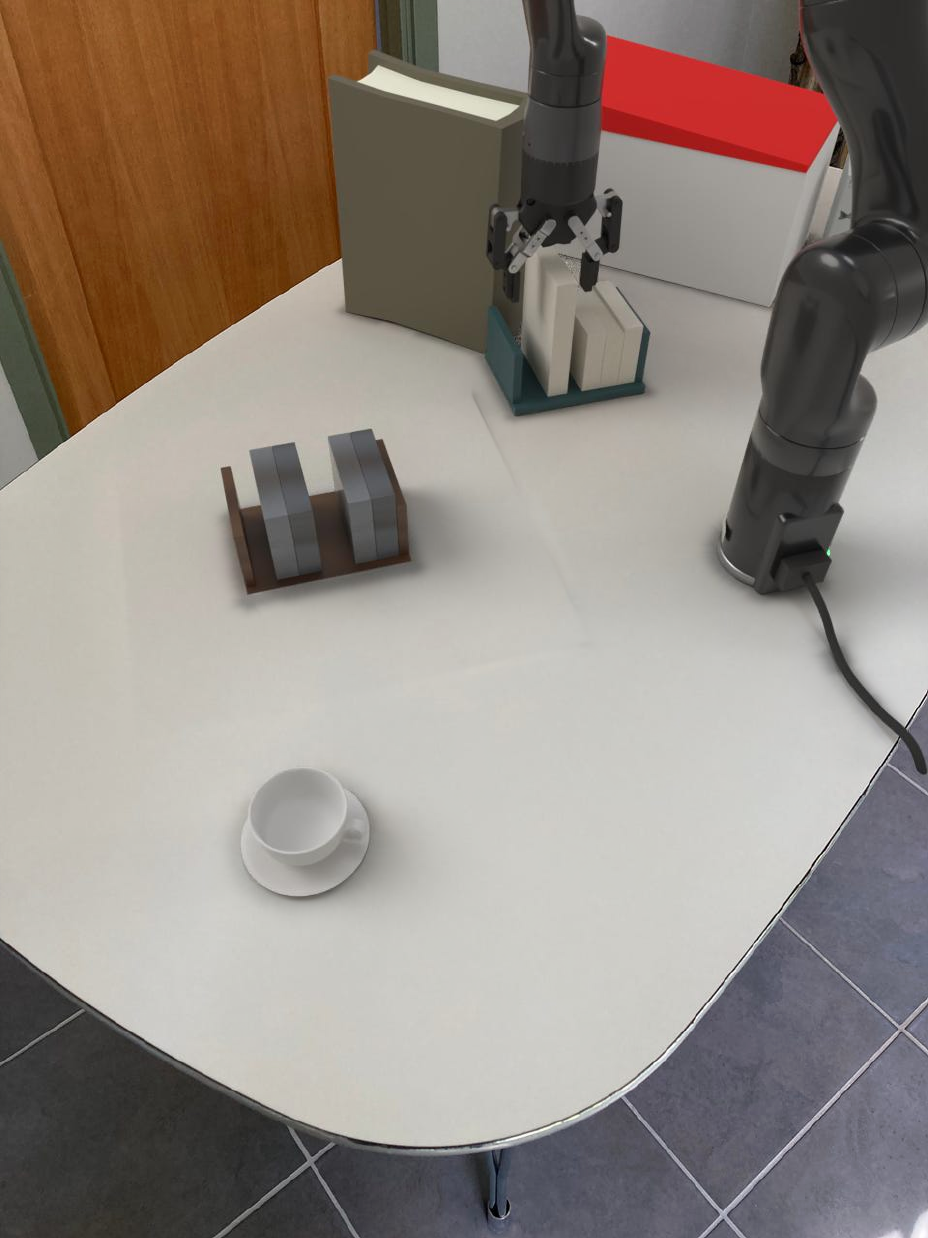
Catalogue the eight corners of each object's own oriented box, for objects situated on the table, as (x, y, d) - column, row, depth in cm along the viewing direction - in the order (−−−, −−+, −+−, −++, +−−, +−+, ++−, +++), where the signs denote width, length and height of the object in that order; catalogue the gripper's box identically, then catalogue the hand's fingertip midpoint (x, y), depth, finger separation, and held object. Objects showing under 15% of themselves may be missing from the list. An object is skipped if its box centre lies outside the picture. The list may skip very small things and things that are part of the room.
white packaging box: (817, 266, 130) (845, 173, 121) (820, 240, 135) (848, 149, 125) (873, 275, 129) (906, 182, 119) (874, 248, 134) (906, 156, 124)
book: (527, 324, 122) (548, 91, 101) (494, 361, 117) (509, 124, 95) (383, 277, 128) (373, 49, 107) (345, 311, 123) (328, 77, 102)
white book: (567, 393, 110) (578, 282, 100) (547, 397, 110) (556, 285, 99) (539, 345, 116) (546, 236, 106) (520, 348, 116) (526, 239, 105)
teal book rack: (644, 392, 112) (655, 329, 106) (514, 416, 109) (517, 352, 103) (606, 336, 119) (615, 274, 113) (484, 357, 117) (485, 293, 110)
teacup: (223, 886, 72) (211, 858, 68) (265, 774, 78) (255, 742, 75) (352, 909, 71) (346, 881, 67) (383, 793, 77) (379, 762, 74)
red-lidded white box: (580, 183, 146) (594, 31, 130) (808, 236, 136) (854, 78, 120) (523, 244, 134) (532, 85, 118) (769, 307, 124) (814, 142, 108)
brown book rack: (412, 568, 94) (408, 499, 87) (248, 601, 91) (231, 533, 84) (385, 488, 101) (379, 420, 94) (233, 517, 98) (215, 448, 91)
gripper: (503, 167, 89) (498, 321, 102) (644, 149, 92) (622, 302, 104) (480, 134, 94) (478, 285, 106) (615, 118, 97) (597, 267, 109)
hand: (549, 293), depth 105 cm, fingers open, 8 cm apart
